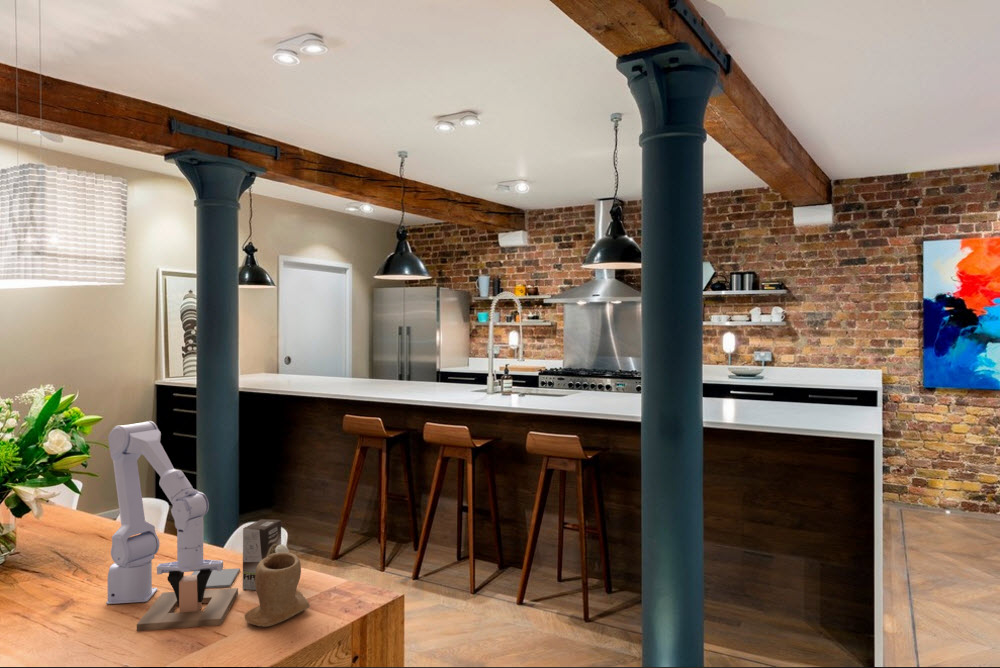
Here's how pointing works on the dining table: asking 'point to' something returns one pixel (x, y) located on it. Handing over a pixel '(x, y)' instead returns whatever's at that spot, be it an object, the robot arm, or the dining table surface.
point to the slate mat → (221, 578)
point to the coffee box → (258, 547)
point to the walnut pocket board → (167, 603)
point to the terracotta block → (189, 594)
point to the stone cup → (277, 590)
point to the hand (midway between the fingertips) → (190, 601)
